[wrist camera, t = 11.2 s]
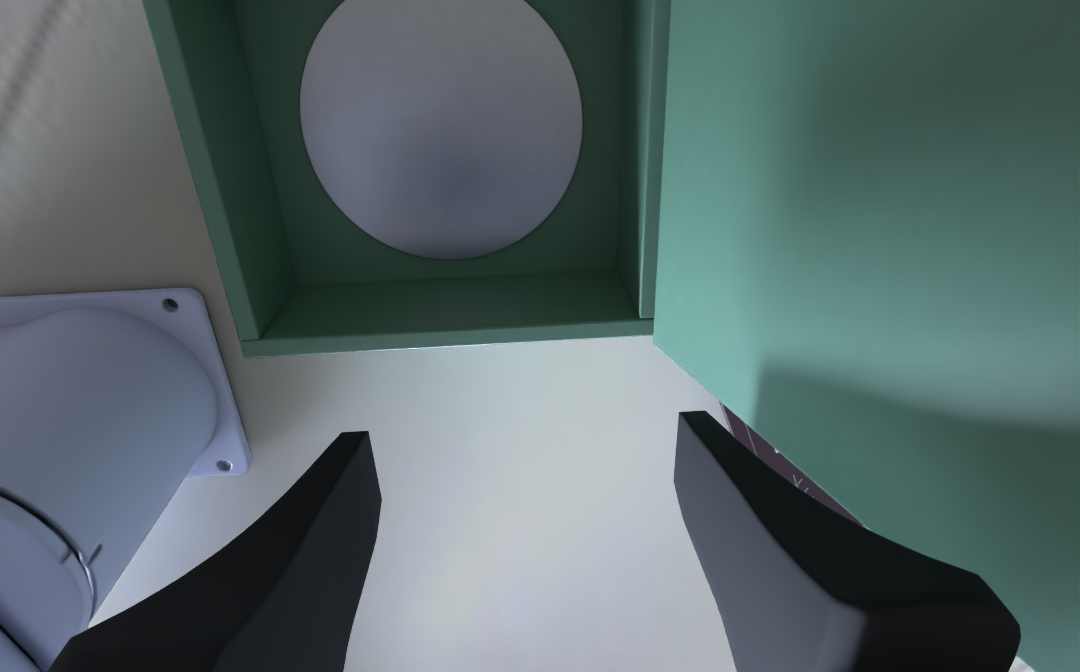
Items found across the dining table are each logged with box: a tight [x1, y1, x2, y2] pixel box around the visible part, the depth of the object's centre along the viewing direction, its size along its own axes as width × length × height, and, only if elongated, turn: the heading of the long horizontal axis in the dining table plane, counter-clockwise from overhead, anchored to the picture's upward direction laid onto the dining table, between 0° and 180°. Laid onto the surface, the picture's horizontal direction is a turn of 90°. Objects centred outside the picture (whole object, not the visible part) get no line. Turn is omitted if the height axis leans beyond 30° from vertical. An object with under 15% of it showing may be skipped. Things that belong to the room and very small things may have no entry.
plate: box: [299, 0, 583, 260], centre depth 20 cm, size 9×9×1 cm
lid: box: [653, 0, 1080, 672], centre depth 11 cm, size 13×11×1 cm
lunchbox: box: [142, 0, 671, 358], centre depth 18 cm, size 12×11×5 cm
